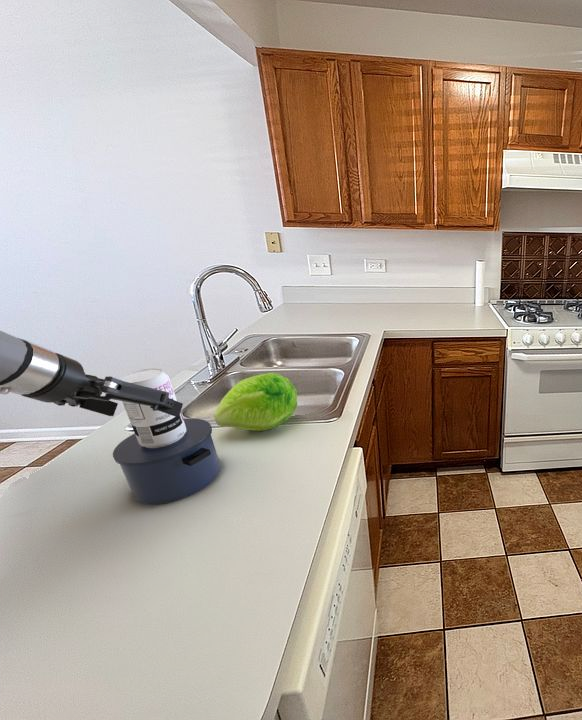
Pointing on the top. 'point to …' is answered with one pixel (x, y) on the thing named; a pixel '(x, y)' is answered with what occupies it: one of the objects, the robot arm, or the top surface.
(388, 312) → the top surface
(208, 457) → the pot
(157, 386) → the supplement can
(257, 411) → the lettuce
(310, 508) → the top surface
